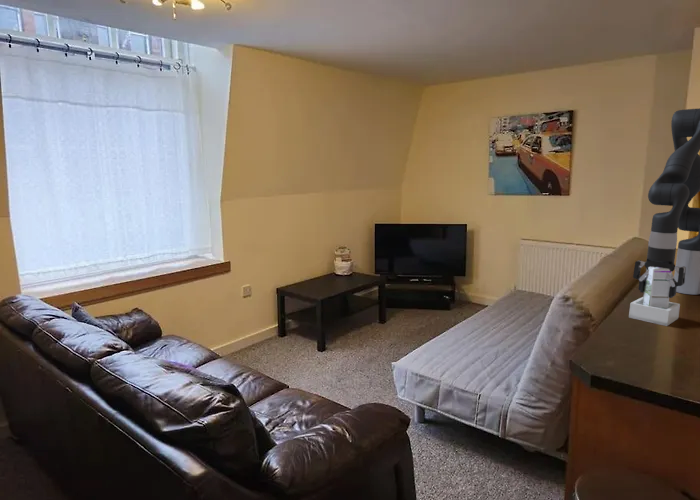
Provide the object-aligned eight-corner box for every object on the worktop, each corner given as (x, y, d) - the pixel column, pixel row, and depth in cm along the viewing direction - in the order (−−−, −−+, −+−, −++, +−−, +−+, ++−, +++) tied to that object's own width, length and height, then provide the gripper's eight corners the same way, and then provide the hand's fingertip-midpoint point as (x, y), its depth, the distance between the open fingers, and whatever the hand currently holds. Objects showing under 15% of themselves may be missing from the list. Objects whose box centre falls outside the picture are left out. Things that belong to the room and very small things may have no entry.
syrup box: (668, 312, 151) (674, 268, 148) (648, 311, 152) (653, 268, 149) (660, 307, 157) (665, 265, 154) (641, 306, 158) (646, 264, 155)
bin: (641, 310, 163) (642, 296, 162) (678, 318, 154) (680, 303, 153) (628, 317, 156) (630, 303, 155) (666, 326, 147) (668, 310, 146)
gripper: (692, 247, 147) (685, 297, 150) (641, 241, 158) (636, 288, 161) (684, 250, 143) (678, 301, 146) (633, 244, 153) (628, 292, 156)
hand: (656, 294), depth 153 cm, fingers closed on syrup box, 7 cm apart
